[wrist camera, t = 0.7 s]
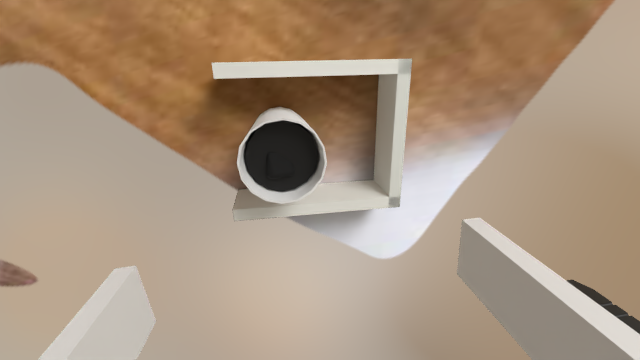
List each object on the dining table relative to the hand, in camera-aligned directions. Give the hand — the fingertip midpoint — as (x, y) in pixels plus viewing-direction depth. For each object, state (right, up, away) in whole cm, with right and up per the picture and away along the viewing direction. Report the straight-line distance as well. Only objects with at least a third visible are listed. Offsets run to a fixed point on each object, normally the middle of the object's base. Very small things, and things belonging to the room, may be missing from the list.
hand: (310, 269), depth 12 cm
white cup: (-4, +8, +19) cm, 21 cm away
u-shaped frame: (0, +9, +20) cm, 21 cm away
